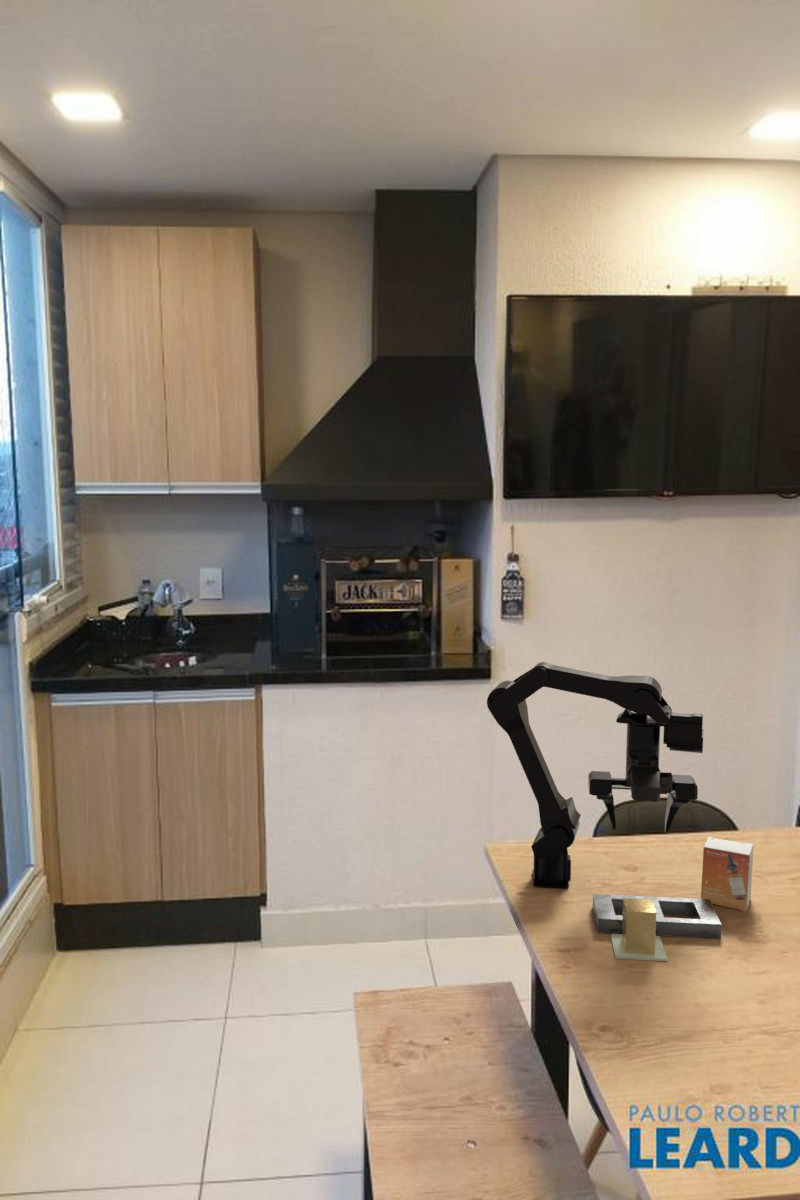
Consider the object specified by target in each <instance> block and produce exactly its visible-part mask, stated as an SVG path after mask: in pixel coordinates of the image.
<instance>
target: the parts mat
mask: <svg viewBox="0 0 800 1200" xmlns="http://www.w3.org/2000/svg"><path fill="white" fill-rule="evenodd" d="M610 939H611V944H612V945H611V946H612V948H613V953H614V957H615V959H618V960H637V961H653V962H656V961H657V962H668V957H667V953H666V950H665V946H664V945H663V941H662V939H661V936H656V937H655V954H640V953H625V949H624V945H623V940H622V934H614V933H610Z"/></svg>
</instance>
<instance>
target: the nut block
mask: <svg viewBox="0 0 800 1200" xmlns="http://www.w3.org/2000/svg"><path fill="white" fill-rule="evenodd" d="M622 916H623V920H622V934H621V935H622V940H623V945H624V949H625V953H640V954H655V937H656V911H655V907H654V904H653V901H652V899H632V898H623V913H622Z"/></svg>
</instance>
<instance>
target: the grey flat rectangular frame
mask: <svg viewBox="0 0 800 1200" xmlns="http://www.w3.org/2000/svg"><path fill="white" fill-rule="evenodd" d="M623 898H632V899H652V901H653V904H654V907H655V911H656V936H660V937H676V938H677V937H679V938H696V939H697V938H698V939H719V940H721V939H722V929H723V928H722V922H721V920H720V918H719V916H718V914H717V912H716V909H715V907H714V904H712V903H711V901H710V899H701V898H692V897H691V898H690V897H669V896H646V895H627V894H626V895H621V894H603V893H602V894H601V893H600V894H599V893H593V894H592V909H593V910H592V911H593V915H594V919H595V920H594V921H595V925H596V930H597V933H599V934H600V933H601V934H620V935H622V920H623ZM616 913H621V915H619V914H618V915H617V914H616ZM664 915H666V916H667V915H668V916H687V917H689V916H690V917H693V918H682V917H680V918H679V917H665V916H664Z"/></svg>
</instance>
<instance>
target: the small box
mask: <svg viewBox="0 0 800 1200" xmlns="http://www.w3.org/2000/svg"><path fill="white" fill-rule="evenodd" d="M754 846H755V845H754V844H753V843H747V842H746V843H745V842H741V841H740V842H739V841H734V840H727V839H721V838H716V837H713V836H708V837H707V838H706V842H705V844H704V846H703V849H702V851H703V852H702V867H701V868H702V869H701V870H702V871H701V885H700V886H701V888H700V899H710V901H711V903H712V905H717V906H721V907H727V908H730V909H735V910H740V911H742V912H747V910H748V908H749V905H750V902H751V895H752V881H753V880H752V879H753V865H754V863H753V861H754Z"/></svg>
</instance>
